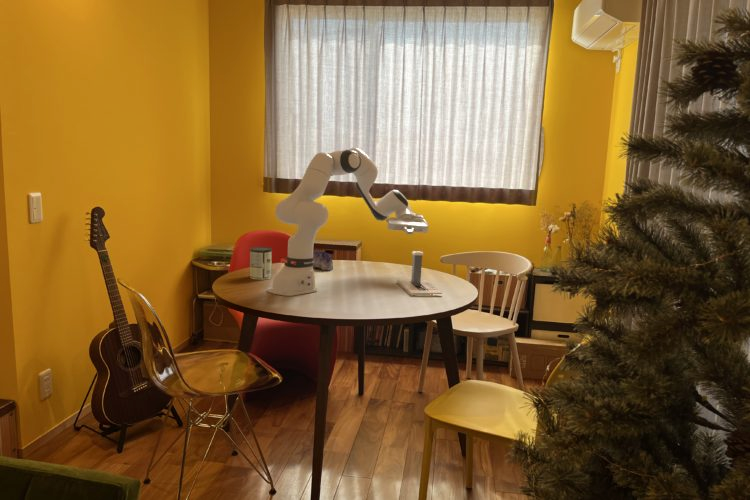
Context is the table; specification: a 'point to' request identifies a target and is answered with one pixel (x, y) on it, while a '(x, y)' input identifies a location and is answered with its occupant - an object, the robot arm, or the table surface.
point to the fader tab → (416, 268)
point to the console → (414, 291)
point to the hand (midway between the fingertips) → (409, 233)
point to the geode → (323, 261)
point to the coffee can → (260, 263)
